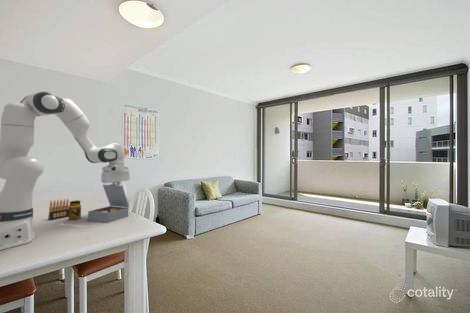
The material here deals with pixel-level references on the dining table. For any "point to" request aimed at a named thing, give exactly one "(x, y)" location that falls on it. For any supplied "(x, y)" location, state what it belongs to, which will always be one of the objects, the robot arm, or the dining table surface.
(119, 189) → the lid
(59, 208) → the ammunition clip
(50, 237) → the dining table surface
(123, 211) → the housing
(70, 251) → the dining table surface
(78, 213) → the condiment
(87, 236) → the dining table surface
